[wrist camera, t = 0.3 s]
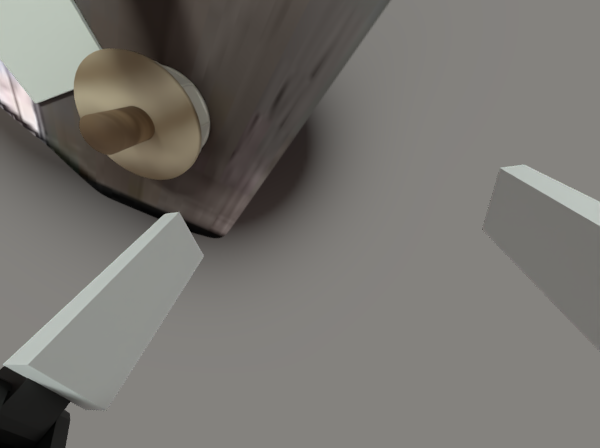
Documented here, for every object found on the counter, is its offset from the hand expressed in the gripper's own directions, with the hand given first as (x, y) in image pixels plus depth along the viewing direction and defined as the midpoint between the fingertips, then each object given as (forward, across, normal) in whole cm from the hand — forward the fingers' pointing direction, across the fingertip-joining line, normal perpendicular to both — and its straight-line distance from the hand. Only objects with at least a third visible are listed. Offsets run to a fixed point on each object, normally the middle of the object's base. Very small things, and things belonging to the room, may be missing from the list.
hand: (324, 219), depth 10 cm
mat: (+28, -36, +17) cm, 48 cm away
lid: (+22, -23, +4) cm, 32 cm away
